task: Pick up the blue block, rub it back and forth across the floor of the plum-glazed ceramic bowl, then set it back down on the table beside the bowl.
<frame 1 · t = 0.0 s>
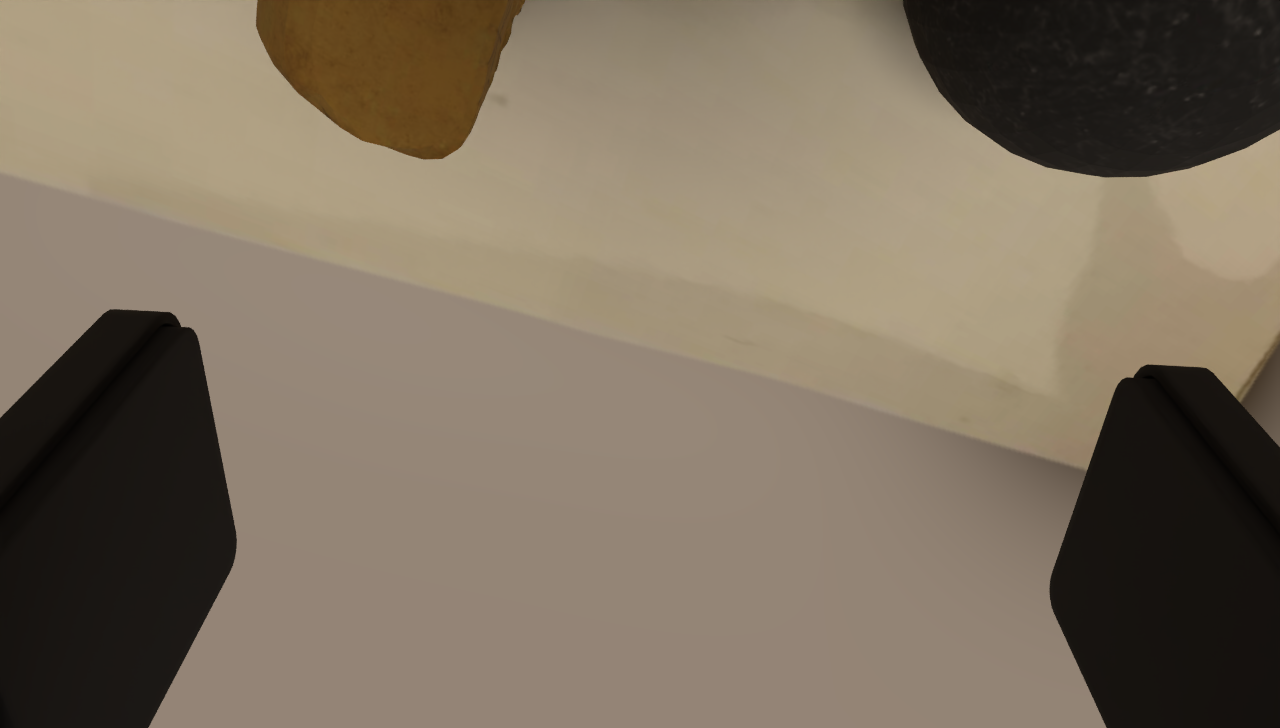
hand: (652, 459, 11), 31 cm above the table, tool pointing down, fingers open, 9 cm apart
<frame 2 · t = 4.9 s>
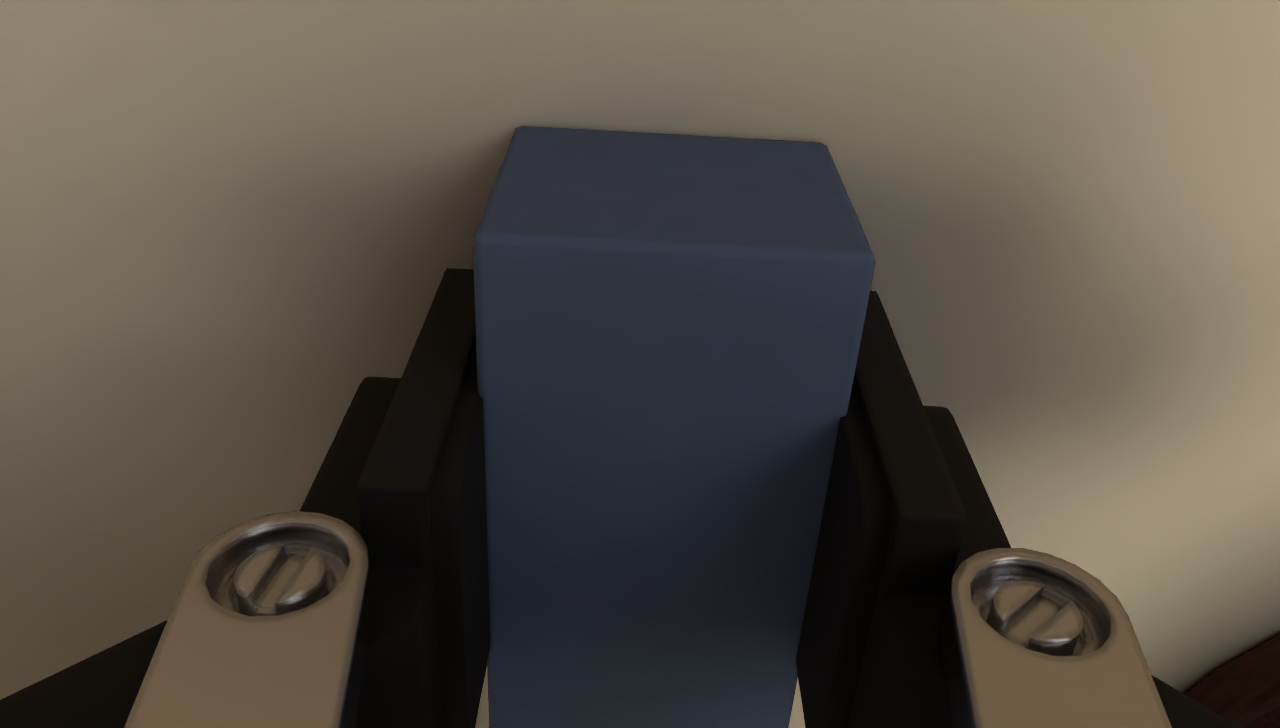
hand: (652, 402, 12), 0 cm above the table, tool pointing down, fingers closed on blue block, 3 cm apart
blue block: (654, 382, 12), on the table, touching gripper
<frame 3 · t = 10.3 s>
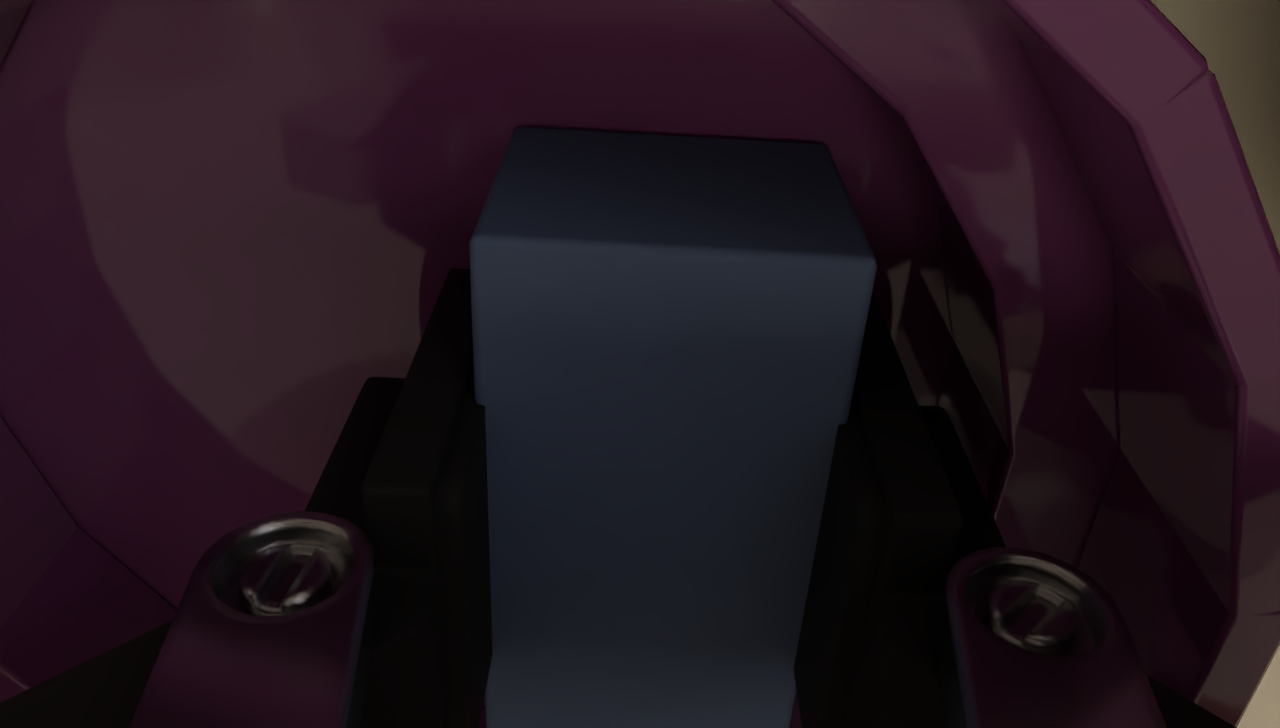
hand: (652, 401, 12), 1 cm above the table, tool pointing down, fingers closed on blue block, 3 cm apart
bowl: (470, 351, 12), on the table
blue block: (653, 385, 12), point 1 cm above the table, touching gripper
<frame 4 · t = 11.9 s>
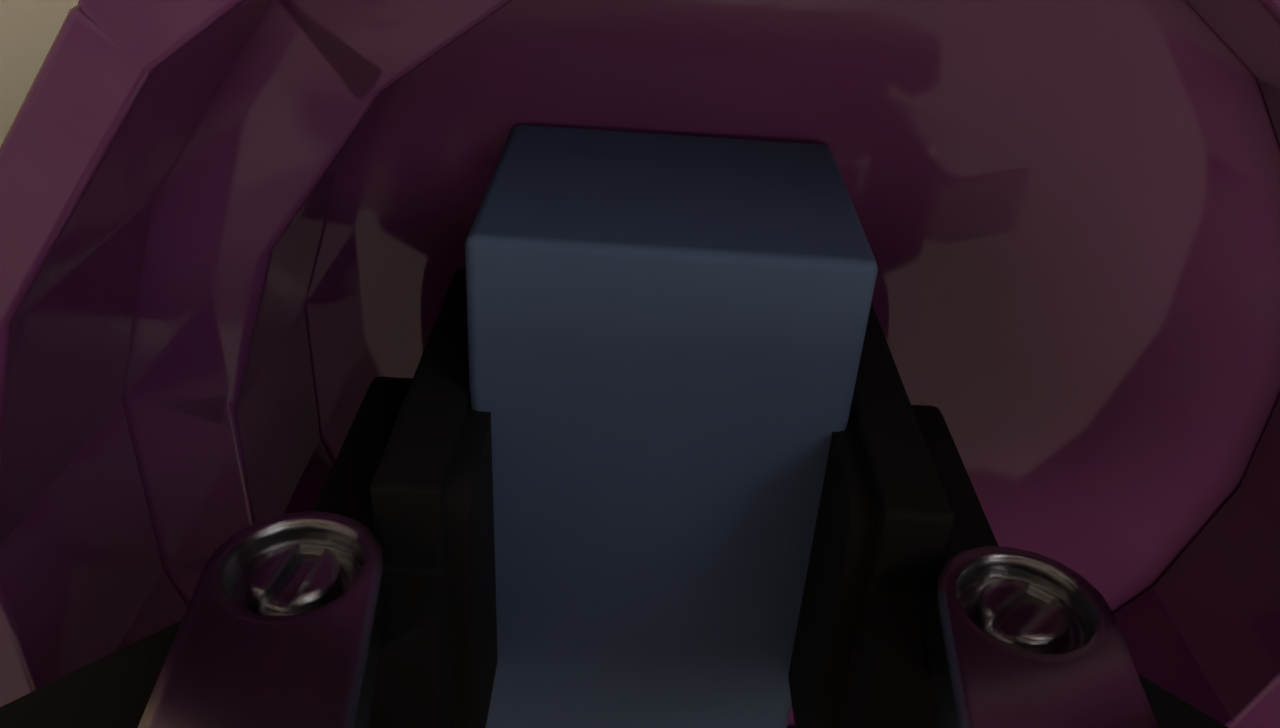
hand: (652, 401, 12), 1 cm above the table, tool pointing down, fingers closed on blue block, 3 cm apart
bowl: (786, 371, 12), on the table
blue block: (652, 386, 12), point 1 cm above the table, touching gripper
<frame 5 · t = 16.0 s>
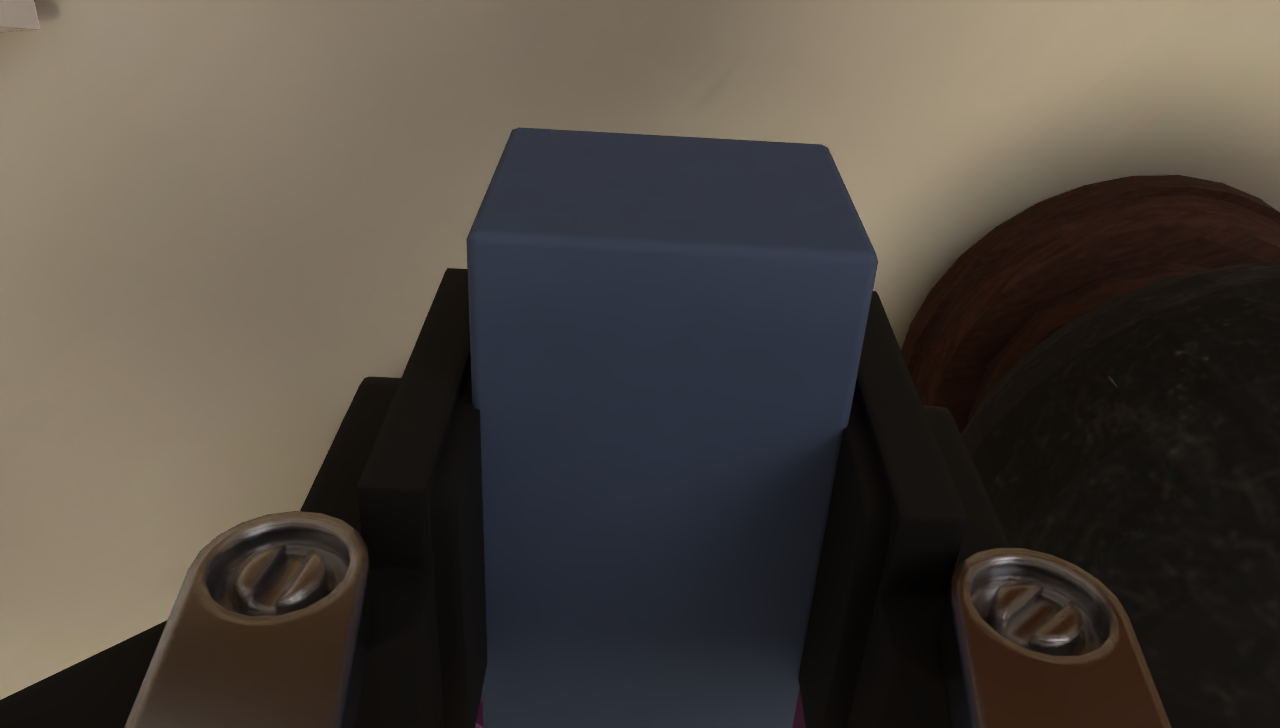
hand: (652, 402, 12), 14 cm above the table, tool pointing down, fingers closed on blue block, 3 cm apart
black crystal ball: (1103, 372, 27), on the table
bowl: (586, 544, 30), on the table
blue block: (652, 388, 12), point 13 cm above the table, touching gripper
when the fingers open (0 cm above the table, at t = 19.2 s): blue block stays where it is, on the table.
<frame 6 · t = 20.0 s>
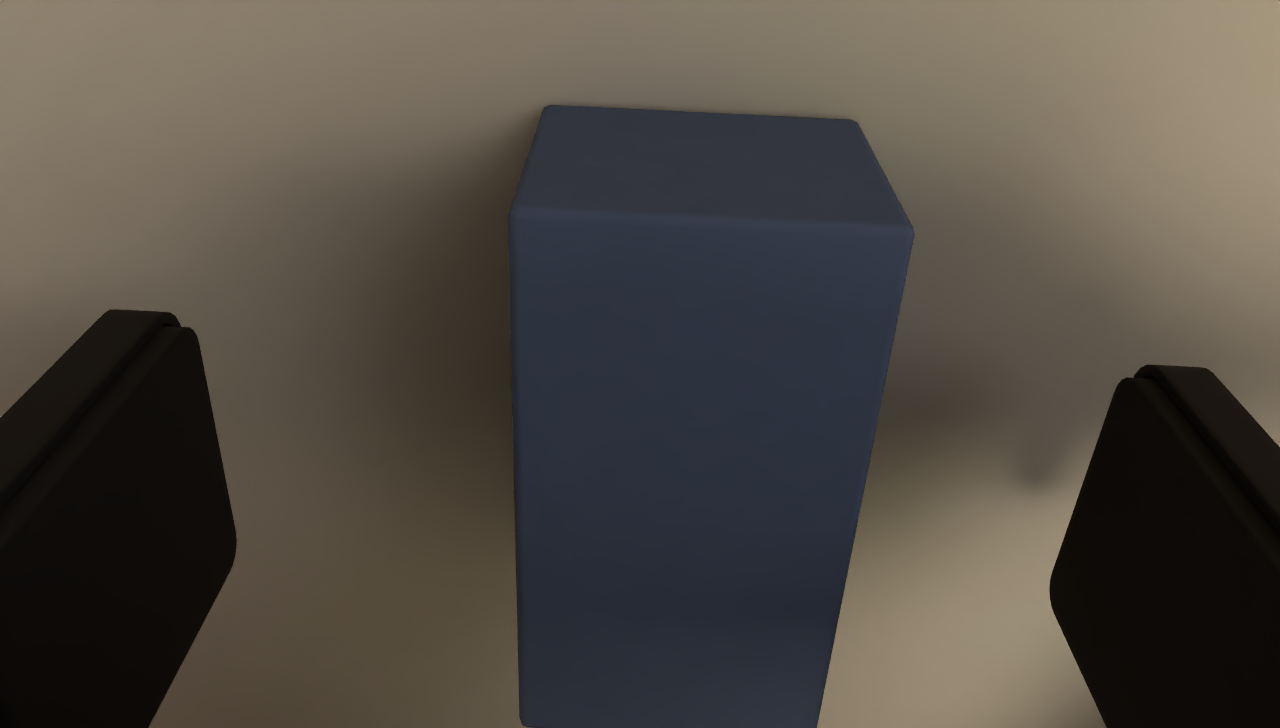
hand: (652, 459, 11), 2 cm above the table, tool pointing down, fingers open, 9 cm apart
blue block: (681, 364, 12), on the table
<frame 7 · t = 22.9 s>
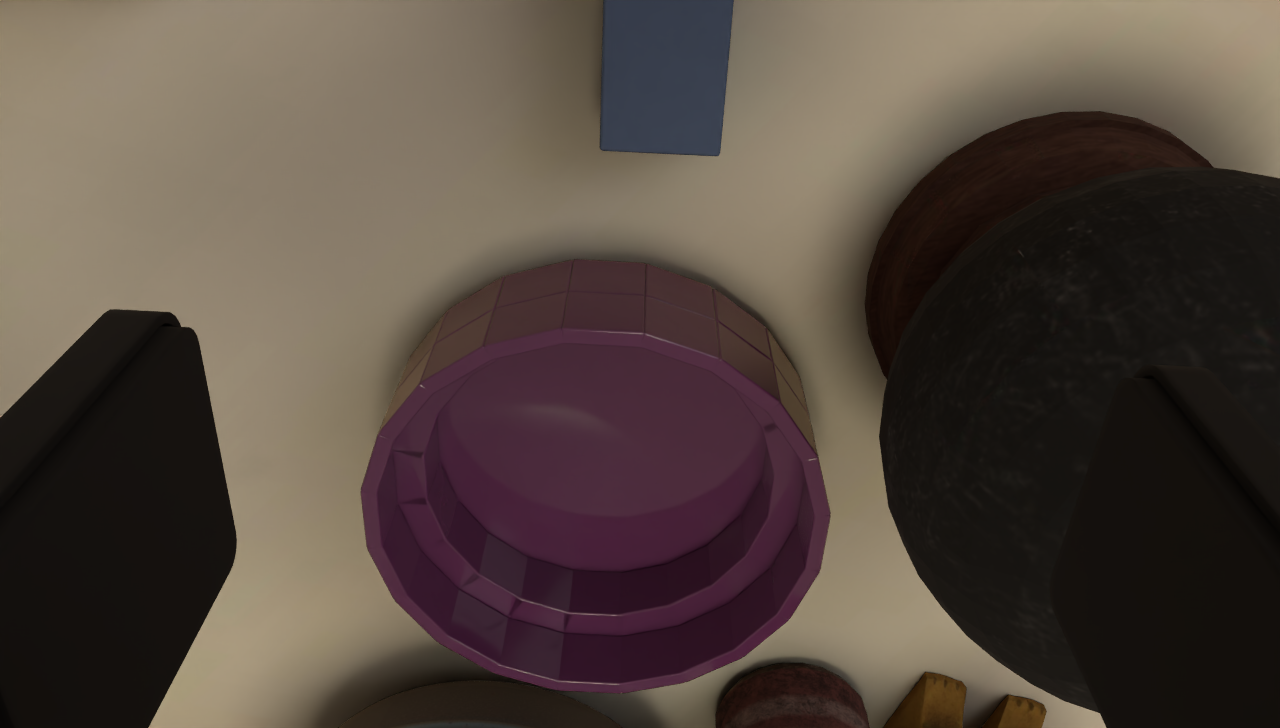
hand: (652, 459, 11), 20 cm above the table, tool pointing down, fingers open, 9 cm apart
black crystal ball: (1043, 284, 32), on the table
bowl: (602, 437, 35), on the table
can: (786, 703, 42), on the table
blue block: (665, 14, 28), on the table
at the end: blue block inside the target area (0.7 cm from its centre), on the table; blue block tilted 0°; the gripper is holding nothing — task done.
